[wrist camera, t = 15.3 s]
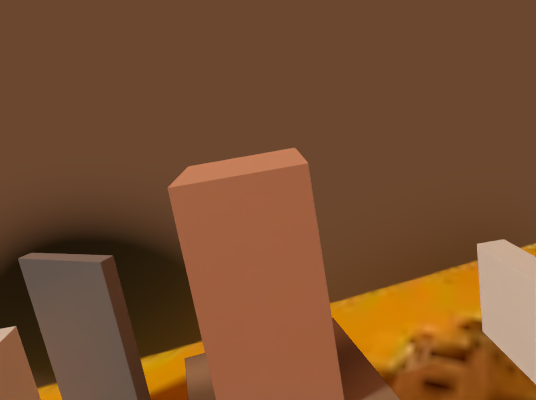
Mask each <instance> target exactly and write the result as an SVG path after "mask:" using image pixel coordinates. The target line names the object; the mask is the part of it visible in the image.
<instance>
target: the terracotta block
mask: <svg viewBox="0 0 536 400" xmlns="http://www.w3.org/2000/svg"><path fill="white" fill-rule="evenodd" d="M168 192H169V196H170V201H171V205H172V210H173V214H174V218H175V222H176V227H177V231H178V236H179V240H180V245H181V249H182V253H183V257H184V262H185V266H186V271H187V275H188V279H189V284H190V288H191V293H192V297H193V301H194V306H195V310H196V314H197V318H198V323H199V327H200V332H201V336H202V341H203V345H204V349H205V354H206V358H207V362H208V367H209V371H210V376H211V380H212V384H213V389H214V393H215V397H216V400H344V395H343V388H342V382H341V375H340V369H339V362H338V356H337V349H336V343H335V336H334V330H333V323H332V317H331V310H330V304H329V297H328V291H327V285H326V278H325V271H324V265H323V258H322V252H321V245H320V239H319V232H318V226H317V220H316V213H315V206H314V200H313V193H312V187H311V180H310V174H309V167H308V163H307V162H306V160H305V159H304V158H303V157H302V156H301V154H300V153H299V152H298V151H297V149H296V148H291V149H285V150H280V151H274V152H268V153H263V154H257V155H251V156H246V157H240V158H234V159H229V160H223V161H218V162H212V163H206V164H201V165H195V166H189V167H187V168H186V169H185V171H184V172H183V173H182V174H181V175H180V176H179V177H178V178H177V179H176V180H175V181H174V182H173V183H172V184H171V185H170V186H169V187H168Z"/></svg>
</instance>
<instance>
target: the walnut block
mask: <svg viewBox="0 0 536 400" xmlns="http://www.w3.org/2000/svg"><path fill="white" fill-rule="evenodd" d="M332 323H333V330H334V336H335V343H336V349H337V356H338V362H339V369H340V375H341V382H342V388H343V395H344V400H400V399H399V398H398V396H397V395H396V394H395V393H394V391H393V390H392V389H391V388H390V387H389V385H388V384H387V383H386V382H385V380H384V379H383V378H382V377H381V376H380V374H379V373H378V372H377V371H376V370H375V368H374V367H373V366H372V365H371V363H370V362H369V361H368V360H367V359H366V357H365V356H364V355H363V354H362V352H361V351H360V350H359V349H358V348H357V346H356V345H355V344H354V343H353V341H352V340H351V339H350V338H349V337H348V335H347V334H346V333H345V332H344V331H343V329H342V328H341V327H340V326H339V324H338V323H337V322H336V321H335V320H334V318H332ZM185 368H186V380H187V391H188V400H216V397H215V393H214V389H213V384H212V380H211V376H210V371H209V367H208V362H207V358H206V354H205V353H203V354H199V355H196V356H192V357H188V358H185Z"/></svg>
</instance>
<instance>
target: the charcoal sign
mask: <svg viewBox="0 0 536 400" xmlns="http://www.w3.org/2000/svg"><path fill="white" fill-rule="evenodd" d="M19 263H20V266H21V269H22V272H23V276H24V279H25V282H26V285H27V288H28V291H29V295H30V298H31V301H32V304H33V307H34V310H35V314H36V316H37V320H38V323H39V326H40V329H41V332H42V336H43V339H44V342H45V345H46V349H47V352H48V355H49V358H50V361H51V364H52V368H53V371H54V374H55V377H56V380H57V383H58V387H59V390H60V393H61V396H62V399H63V400H151V399H150V395H149V391H148V387H147V383H146V379H145V376H144V372H143V368H142V364H141V360H140V357H139V353H138V349H137V345H136V342H135V338H134V334H133V330H132V326H131V322H130V318H129V315H128V311H127V307H126V303H125V300H124V296H123V292H122V288H121V284H120V280H119V277H118V273H117V269H116V265H115V261H114V257H113V256H108V255H107V256H106V255H78V254H47V253H30V254H28V255H25V256H23V257H21V258H19Z"/></svg>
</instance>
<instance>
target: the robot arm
mask: <svg viewBox="0 0 536 400" xmlns="http://www.w3.org/2000/svg"><path fill="white" fill-rule="evenodd" d="M477 252H478V268H479V283H480V299H481V314H482V330H483V332H484V333H485V334H486V335H487V336H488V337H489V338H490V339H491V340H492V341H493V342H494V343H495V344H496V345H497V346H498V347H499V348H500V349H501V350H502V351H503V352H504V353H505V354H506V355H507V356H508V357H509V358H510V359H511V360H512V361H513V362H514V363H515V364H516V365H517V366H518V367H519V368H520V369H521V370H522V371H523V372H524V373H525V374H526V375H527V376H528V377H529V378H530V379H531V380H532V381H533V382H534V383H535V384H536V257H535V256H533V255H531V254H529V253H527V252H526V251H524V250H522V249H520V248H518V247H517V246H515V245H513V244H511V243H509V242H508V241H506V240H504V239H503V240H497V241H491V242H486V243H480V244H477ZM0 400H41V399H40V396H39V393H38V390H37V387H36V384H35V382H34V378H33V376H32V373H31V370H30V367H29V364H28V361H27V358H26V355H25V352H24V349H23V346H22V343H21V340H20V337H19V334H18V331H17V328H16V326H14V327H9V328H3V329H0Z"/></svg>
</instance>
